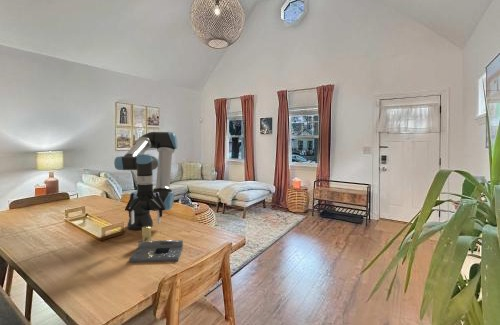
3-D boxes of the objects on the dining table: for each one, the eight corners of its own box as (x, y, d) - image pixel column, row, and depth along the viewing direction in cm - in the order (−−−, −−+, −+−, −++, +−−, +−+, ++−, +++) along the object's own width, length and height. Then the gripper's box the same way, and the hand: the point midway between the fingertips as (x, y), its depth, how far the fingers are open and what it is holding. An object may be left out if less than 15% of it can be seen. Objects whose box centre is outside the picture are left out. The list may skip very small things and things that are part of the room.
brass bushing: (140, 245, 136) (140, 227, 135) (147, 242, 140) (147, 225, 139) (146, 247, 134) (145, 229, 133) (153, 244, 138) (152, 226, 137)
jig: (129, 262, 118) (129, 253, 118) (139, 249, 132) (139, 241, 132) (178, 261, 120) (177, 252, 120) (183, 248, 134) (182, 240, 134)
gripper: (117, 184, 129) (118, 226, 131) (167, 184, 131) (168, 225, 133) (123, 182, 136) (124, 221, 138) (171, 182, 139) (171, 220, 140)
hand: (146, 223), depth 136 cm, fingers open, 13 cm apart
